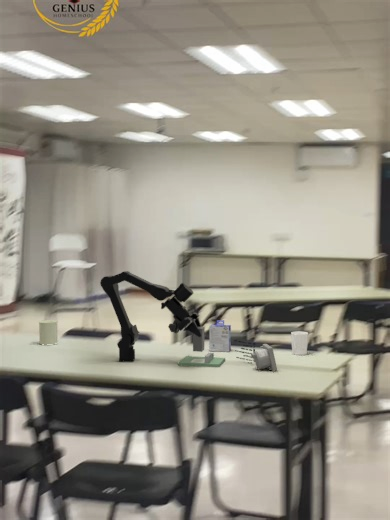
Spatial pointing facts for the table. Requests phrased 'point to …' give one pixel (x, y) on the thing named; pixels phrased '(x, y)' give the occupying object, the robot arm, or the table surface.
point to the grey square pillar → (198, 340)
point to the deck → (202, 361)
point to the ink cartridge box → (220, 337)
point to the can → (48, 332)
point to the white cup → (299, 342)
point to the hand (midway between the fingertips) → (201, 335)
